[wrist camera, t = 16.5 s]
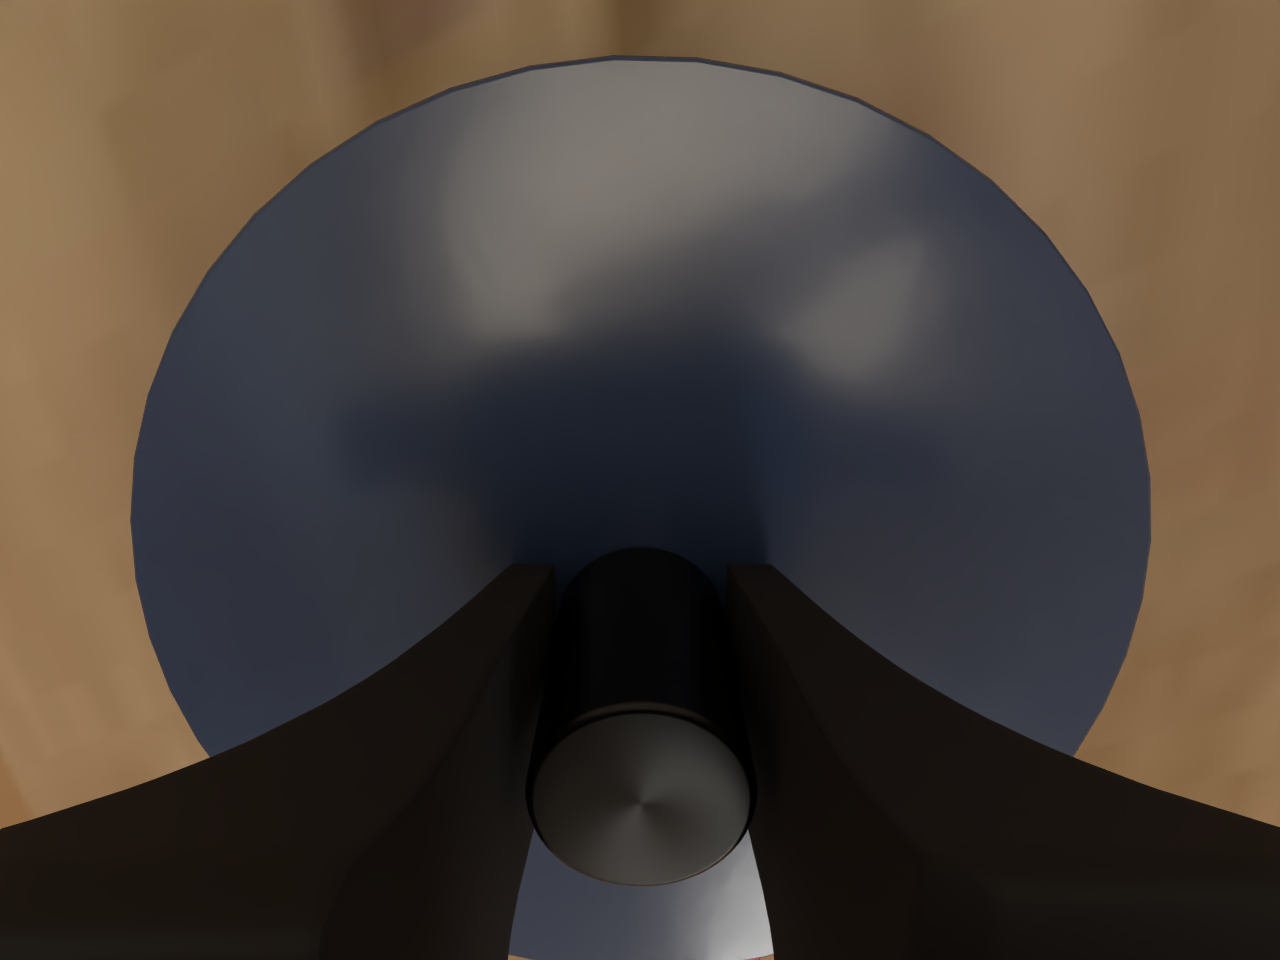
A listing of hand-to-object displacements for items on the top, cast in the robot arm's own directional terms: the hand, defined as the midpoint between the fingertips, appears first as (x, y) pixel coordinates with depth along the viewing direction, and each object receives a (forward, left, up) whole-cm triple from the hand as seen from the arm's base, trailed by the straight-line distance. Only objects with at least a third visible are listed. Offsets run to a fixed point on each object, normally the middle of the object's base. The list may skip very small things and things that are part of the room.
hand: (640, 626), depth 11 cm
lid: (0, 0, -1) cm, 1 cm away
